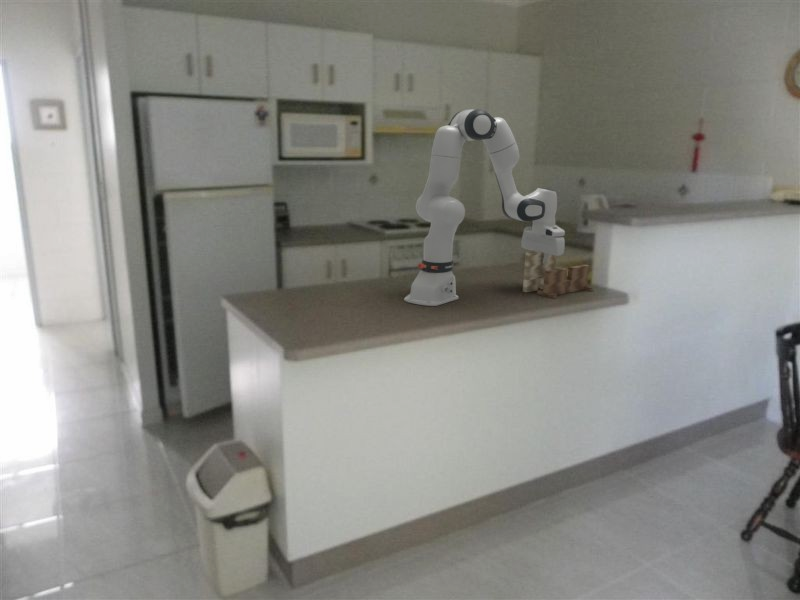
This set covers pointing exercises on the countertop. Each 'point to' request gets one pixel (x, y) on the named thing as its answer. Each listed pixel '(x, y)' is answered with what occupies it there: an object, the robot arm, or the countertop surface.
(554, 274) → the wooden block row
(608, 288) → the countertop surface
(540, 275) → the birch plate
